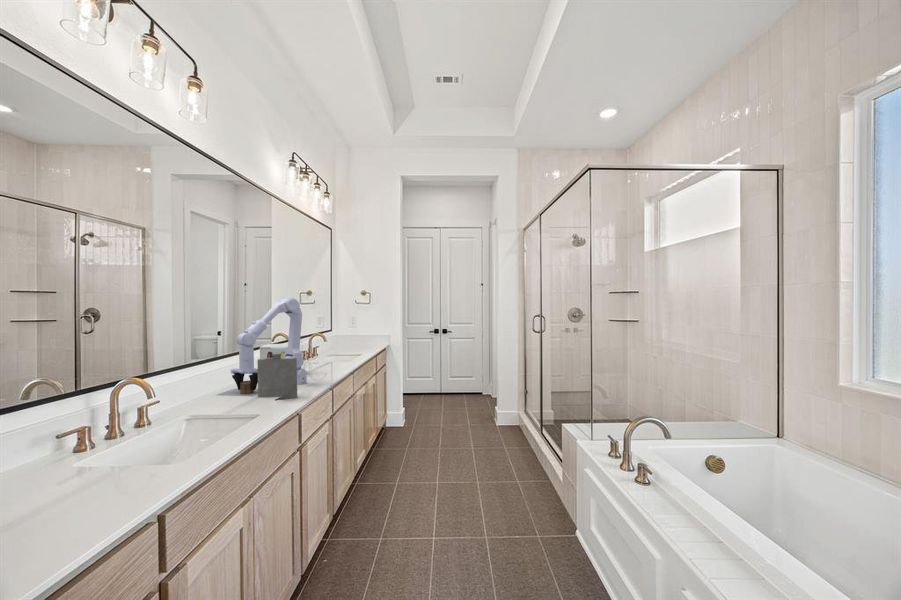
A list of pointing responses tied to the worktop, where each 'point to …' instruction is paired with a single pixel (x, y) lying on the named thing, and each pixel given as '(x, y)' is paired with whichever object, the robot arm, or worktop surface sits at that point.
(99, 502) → the worktop surface
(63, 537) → the worktop surface
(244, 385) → the cap
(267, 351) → the supplement box
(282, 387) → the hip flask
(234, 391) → the board
